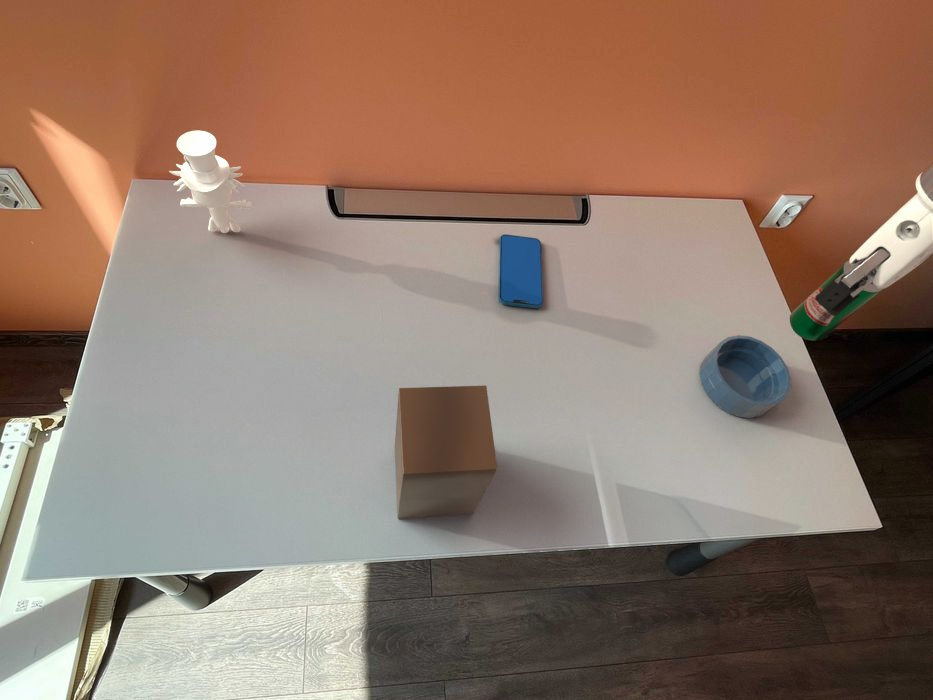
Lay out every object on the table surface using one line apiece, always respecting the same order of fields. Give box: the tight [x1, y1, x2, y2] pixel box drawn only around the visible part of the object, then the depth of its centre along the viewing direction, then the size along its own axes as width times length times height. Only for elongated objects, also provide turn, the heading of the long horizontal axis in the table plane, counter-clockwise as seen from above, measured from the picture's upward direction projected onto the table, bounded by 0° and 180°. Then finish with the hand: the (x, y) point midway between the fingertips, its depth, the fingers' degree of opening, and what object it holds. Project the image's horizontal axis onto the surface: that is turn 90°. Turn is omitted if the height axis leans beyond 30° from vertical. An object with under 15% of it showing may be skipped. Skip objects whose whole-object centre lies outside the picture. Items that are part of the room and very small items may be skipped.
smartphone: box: [498, 233, 544, 309], centre depth 98 cm, size 7×1×15 cm
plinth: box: [394, 385, 498, 520], centre depth 71 cm, size 10×10×18 cm
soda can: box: [789, 260, 883, 342], centre depth 73 cm, size 5×5×12 cm
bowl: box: [699, 335, 792, 419], centre depth 91 cm, size 12×12×5 cm
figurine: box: [168, 129, 253, 234], centre depth 87 cm, size 10×8×18 cm
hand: (839, 296), depth 72 cm, fingers closed on soda can, 5 cm apart
